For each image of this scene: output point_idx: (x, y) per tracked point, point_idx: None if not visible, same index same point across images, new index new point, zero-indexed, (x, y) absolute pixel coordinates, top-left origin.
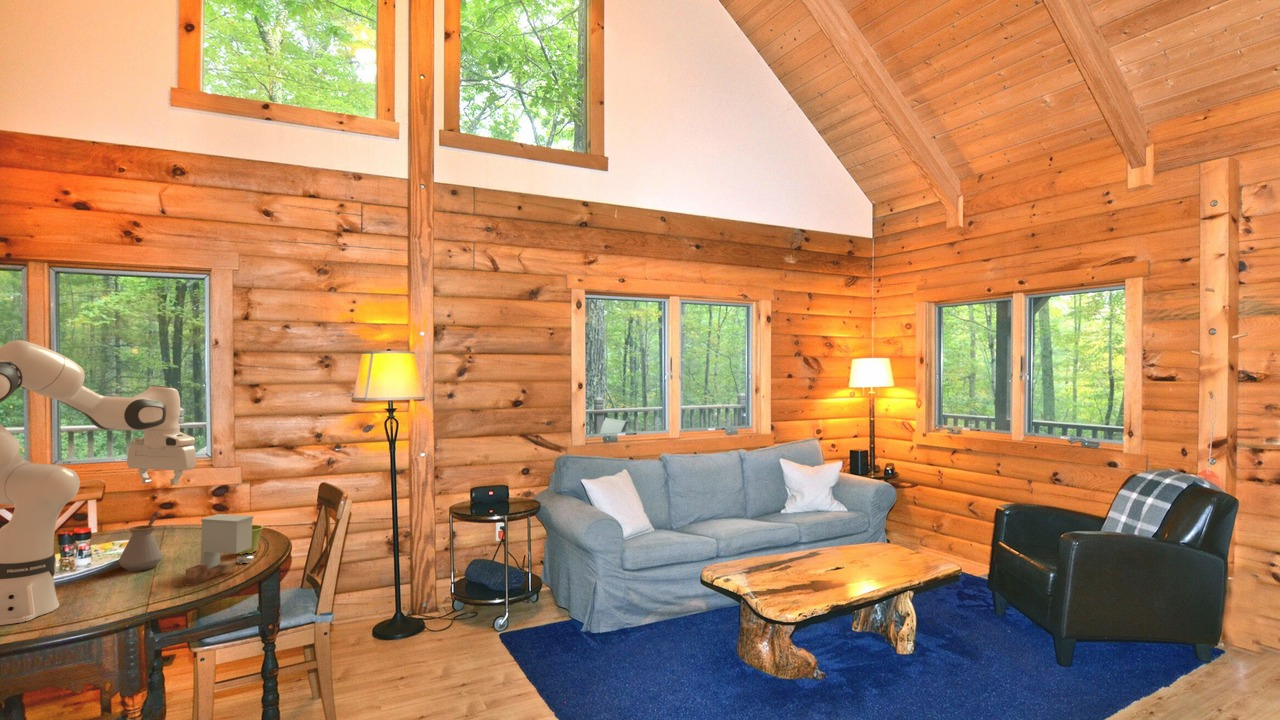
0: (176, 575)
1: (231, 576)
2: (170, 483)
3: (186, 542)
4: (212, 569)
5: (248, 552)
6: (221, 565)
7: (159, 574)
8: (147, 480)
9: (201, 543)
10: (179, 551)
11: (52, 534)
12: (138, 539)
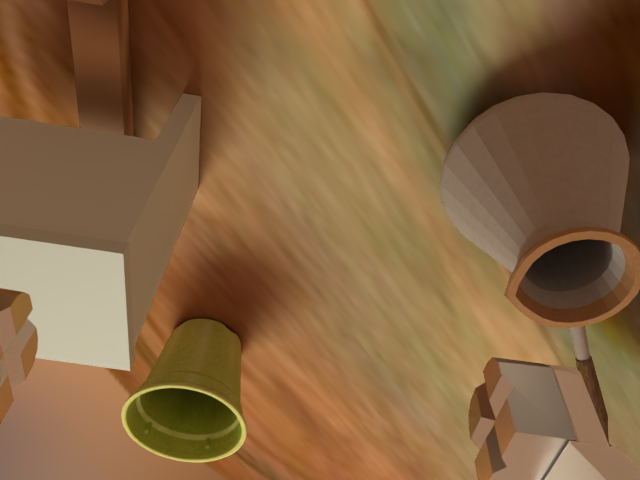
0: (278, 42)
1: (5, 35)
2: (10, 298)
3: None
4: (91, 52)
5: (179, 326)
6: (101, 118)
7: (371, 56)
8: (500, 412)
9: (164, 166)
10: (476, 352)
11: None
12: (555, 201)
